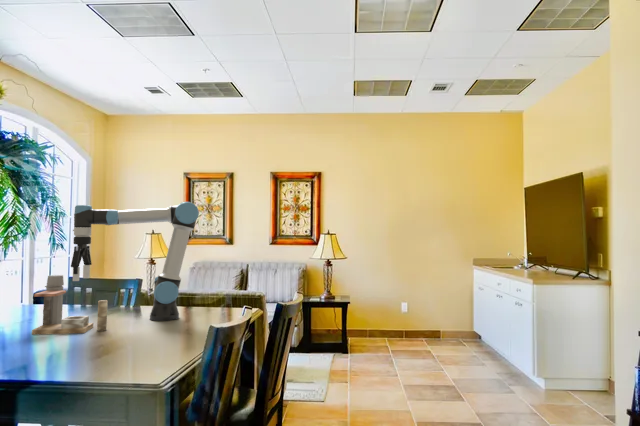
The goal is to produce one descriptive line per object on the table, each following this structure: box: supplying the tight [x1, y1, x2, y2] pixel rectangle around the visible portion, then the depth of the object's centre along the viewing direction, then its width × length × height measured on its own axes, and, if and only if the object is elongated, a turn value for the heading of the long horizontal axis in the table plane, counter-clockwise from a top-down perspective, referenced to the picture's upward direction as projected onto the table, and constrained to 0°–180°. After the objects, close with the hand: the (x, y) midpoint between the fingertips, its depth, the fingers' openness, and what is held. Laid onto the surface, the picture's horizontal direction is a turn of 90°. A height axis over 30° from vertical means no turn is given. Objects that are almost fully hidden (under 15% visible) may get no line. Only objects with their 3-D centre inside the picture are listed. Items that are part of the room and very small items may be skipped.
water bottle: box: [42, 274, 65, 324], centre depth 213 cm, size 9×8×25 cm
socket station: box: [31, 289, 94, 336], centre depth 204 cm, size 22×13×18 cm, turn 102°
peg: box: [96, 299, 108, 332], centre depth 206 cm, size 4×4×14 cm
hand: (81, 279), depth 210 cm, fingers open, 13 cm apart
